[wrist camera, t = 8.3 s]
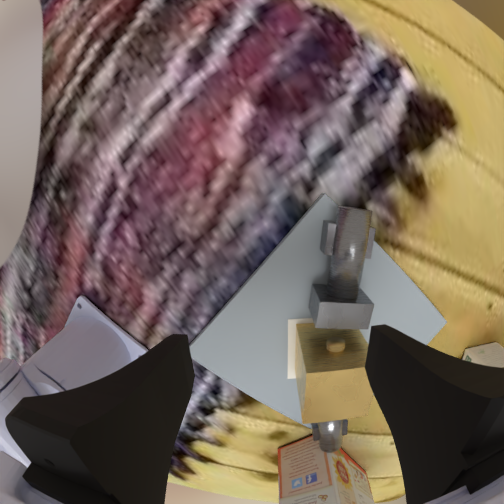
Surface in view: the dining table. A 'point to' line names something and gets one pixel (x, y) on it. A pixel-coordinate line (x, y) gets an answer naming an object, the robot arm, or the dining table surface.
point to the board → (300, 313)
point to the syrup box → (486, 355)
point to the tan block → (331, 373)
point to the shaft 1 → (344, 272)
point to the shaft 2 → (329, 434)
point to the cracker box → (320, 476)
